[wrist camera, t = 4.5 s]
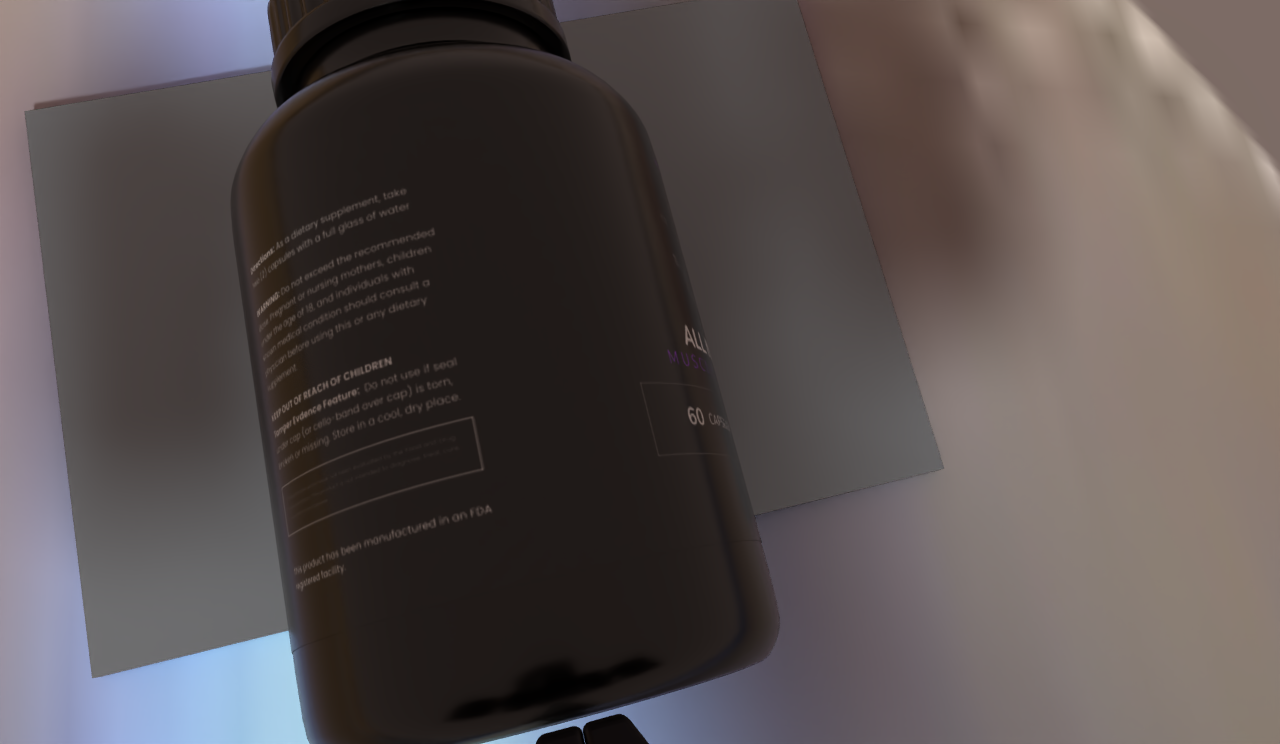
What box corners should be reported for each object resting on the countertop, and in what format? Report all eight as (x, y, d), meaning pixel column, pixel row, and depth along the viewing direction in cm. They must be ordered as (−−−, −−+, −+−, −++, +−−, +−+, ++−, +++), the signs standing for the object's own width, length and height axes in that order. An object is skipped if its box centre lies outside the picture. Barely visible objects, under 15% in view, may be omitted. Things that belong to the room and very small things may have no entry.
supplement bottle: (896, 633, 13) (674, -109, 16) (392, 793, 9) (224, -215, 12) (643, 671, 18) (514, 119, 21) (269, 780, 15) (174, 95, 18)
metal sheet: (937, 470, 19) (944, 468, 19) (100, 677, 17) (92, 678, 17) (788, -8, 21) (792, -17, 21) (32, 118, 19) (24, 111, 19)
